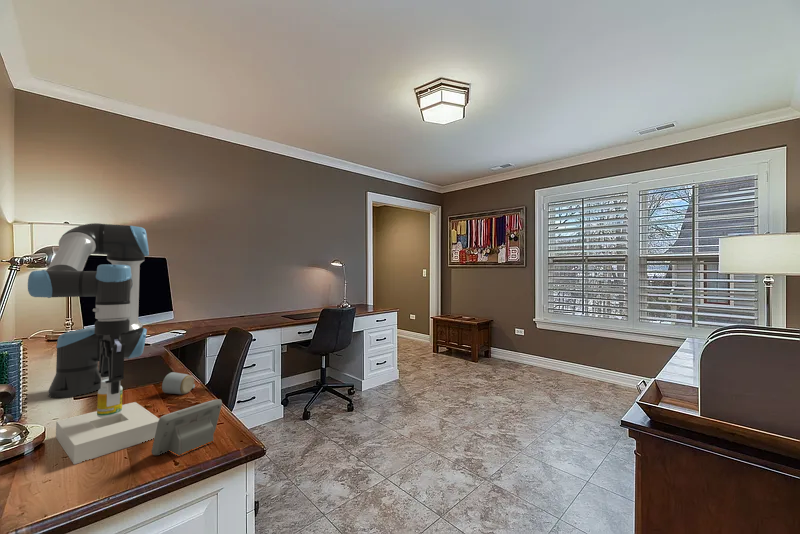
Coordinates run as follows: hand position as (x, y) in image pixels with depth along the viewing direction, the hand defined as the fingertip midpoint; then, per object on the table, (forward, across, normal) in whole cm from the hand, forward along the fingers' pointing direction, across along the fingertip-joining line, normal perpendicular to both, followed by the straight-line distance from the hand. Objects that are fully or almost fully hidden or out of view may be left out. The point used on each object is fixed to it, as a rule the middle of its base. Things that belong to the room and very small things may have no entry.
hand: (109, 402), depth 95 cm
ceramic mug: (+10, -24, +27) cm, 38 cm away
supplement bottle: (+3, 0, 0) cm, 3 cm away
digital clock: (+10, +22, +12) cm, 27 cm away
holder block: (+10, 0, 0) cm, 10 cm away
